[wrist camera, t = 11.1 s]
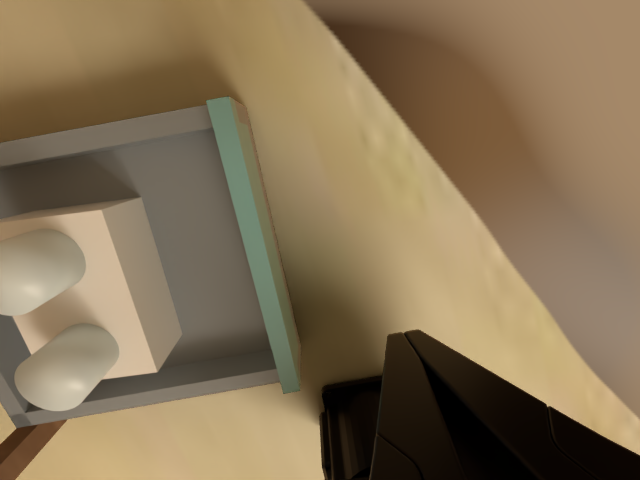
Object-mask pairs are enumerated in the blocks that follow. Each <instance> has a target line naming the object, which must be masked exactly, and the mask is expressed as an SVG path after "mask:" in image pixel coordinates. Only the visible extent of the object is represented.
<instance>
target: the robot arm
mask: <svg viewBox="0 0 640 480" xmlns="http://www.w3.org/2000/svg"><path fill="white" fill-rule="evenodd" d="M327 392H330V393H327ZM322 399H323V403H324V408H325V412H322V413H321V414H320V416H319V417H320V437H321V458H322V469H323V473H324V477H325V480H640V455H638V454H636V453H634V452H632V451H630V450H628V449H626V448H625V447H623V446H621V445H619V444H617V443H615V442H613V441H611V440H609V439H607V438H605V437H603V436H602V435H600V434H598V433H596V432H595V431H593V430H591V429H589V428H587V427H586V426H584V425H582V424H580V423H579V422H577V421H575V420H573V419H571V418H570V417H568V416H566V415H565V414H563V413H561V412H559V411H558V410H556V409H554V408H553V407H551V406H548V407H547V405H546V404H545V403H544V402H542V401H540V400H539V399H537V398H535V397H533V396H532V395H530V394H528V393H527V392H525V391H523V390H522V389H520V388H518V387H516V386H515V385H513V384H511V383H510V382H508V381H506V380H504V379H503V378H501V377H499V376H498V375H496V374H494V373H492V372H491V371H489V370H487V369H486V368H484V367H482V366H481V365H479V364H477V363H475V362H474V361H472V360H470V359H469V358H467V357H465V356H463V355H462V354H460V353H458V352H457V351H455V350H453V349H451V348H450V347H448V346H446V345H445V344H443V343H441V342H440V341H438V340H436V339H434V338H433V337H431V336H429V335H428V334H426V333H424V332H422V331H421V330H411V331H406V332H404V334H403V333H401V332H400V333H394V334H389V335H388V336H387V344H386V352H385V361H384V370H383V376H379V377H373V378H367V379H361V380H356V381H350V382H344V383H339V384H333V385H327V386H324V387H323V388H322Z"/></svg>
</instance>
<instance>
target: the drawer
mask: <svg viewBox="0 0 640 480" xmlns="http://www.w3.org/2000/svg"><path fill="white" fill-rule="evenodd" d="M206 103H207V105H201V106H196V107H191V108H185V109H180V110H174V111H169V112H164V113H158V114H153V115H147V116H142V117H137V118H131V119H126V120H120V121H115V122H110V123H104V124H99V125H93V126H88V127H83V128H77V129H72V130H66V131H61V132H56V133H50V134H45V135H39V136H34V137H29V138H23V139H18V140H12V141H7V142H2V143H0V219H3V218H7V217H11V216H15V215H20V214H24V213H28V212H32V211H37V210H45V209H53V208H60V207H68V206H76V205H84V204H91V203H99V202H107V201H115V200H123V199H130V198H138V197H141V198H142V201H143V204H144V208H145V211H146V214H147V218H148V221H149V224H150V228H151V231H152V234H153V238H154V241H155V244H156V248H157V251H158V254H159V258H160V261H161V264H162V268H163V271H164V274H165V278H166V281H167V284H168V288H169V291H170V294H171V298H172V301H173V304H174V308H175V311H176V314H177V318H178V321H179V324H180V328H181V331H182V335H181V337H180V339H179V340H178V342H177V343H176V345H175V346H174V348H173V349H172V351H171V352H170V354H169V355H168V357H167V358H166V360H165V362H164V363H163V365H162V366H161V368H160V369H159V371H158V372H156V373H148V374H141V375H133V376H125V377H118V378H110V379H103V380H101V381H100V382H99V383H98V384H97V385H96V386H95V388H94V389H93V390H92V391H91V392H90V393H89V394H88V396H87V397H86V398H85V399H84V400H83V401H82V403H80V404H79V405H78V406H76V407H75V408H73V409H70V410H65V411H50V410H45V409H42V408H40V407H37V406H35V405H33V404H32V403H30V402H29V401H27V400H26V399H25V398H24V397H23V396H22V395H21V394H20V393H19V391H18V389H17V387H16V385H15V380H14V376H15V371H16V369H17V367H18V366H19V365H20V364H21V363H22V362H23V361H24V360H26V359H27V358H28V357H30V356H31V353H30V351H29V349H28V347H27V345H26V343H25V341H24V339H23V337H22V335H21V333H20V331H19V329H18V327H17V324H16V322H15V320H14V318H13V316H7V315H1V314H0V402H1V404H2V406H3V407H4V409H5V410H6V412H7V414H8V415H9V417H10V418H11V420H12V422H13V423H14V425H15V426H16V428H20V427H26V426H31V425H37V424H43V423H49V422H54V421H60V420H66V419H71V418H77V417H83V416H89V415H94V414H100V413H106V412H111V411H117V410H123V409H129V408H134V407H140V406H146V405H151V404H157V403H163V402H169V401H174V400H180V399H186V398H191V397H197V396H203V395H209V394H214V393H220V392H226V391H231V390H237V389H243V388H249V387H254V386H260V385H266V384H272V383H277V382H280V383H281V387H282V390H283V394H285V393H291V392H297V391H300V378H301V344H300V340H299V336H298V331H297V327H296V323H295V318H294V314H293V309H292V305H291V301H290V296H289V292H288V288H287V283H286V279H285V274H284V270H283V266H282V261H281V257H280V253H279V248H278V244H277V239H276V235H275V231H274V226H273V222H272V218H271V213H270V209H269V204H268V200H267V196H266V191H265V187H264V183H263V178H262V174H261V169H260V165H259V161H258V156H257V152H256V148H255V143H254V139H253V134H252V130H251V126H250V121H249V117H248V113H247V108H246V107H245V106H244V105H242V104H241V103H239V102H237V101H236V100H234V99H233V98H231V97H229V96H227V97H222V98H216V99H211V100H206Z"/></svg>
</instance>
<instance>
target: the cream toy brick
mask: <svg viewBox="0 0 640 480" xmlns="http://www.w3.org/2000/svg"><path fill="white" fill-rule="evenodd" d="M0 314H1V315H7V316H13V318H14V320H15V322H16V324H17V327H18V329H19V331H20V333H21V335H22V337H23V339H24V341H25V343H26V345H27V347H28V349H29V351H30V353H31V356H30V357H28V358H27V359H26V360H24V361H23V362H22V363H21V364H20V365H19V366H18V367H17V369H16V371H15V376H14V380H15V385H16V387H17V389H18V391H19V393H20V394H21V395H22V396H23V397H24V398H25V399H26V400H27V401H29V402H30V403H32V404H33V405H35V406H37V407H40V408H42V409H45V410H50V411H65V410H70V409H73V408H75V407H76V406H78V405H79V404H80V403H82V401H83V400H84V399H85V398H86V397H87V396H88V394H89V393H90V392H91V391H92V390H93V389H94V388H95V386H96V385H97V384H98V383H99V382H100V381H101V380H103V379H110V378H118V377H125V376H133V375H141V374H148V373H156V372H158V371H159V369H160V368H161V366H162V365H163V363H164V362H165V360H166V358H167V357H168V355H169V354H170V352H171V351H172V349H173V348H174V346H175V345H176V343H177V342H178V340H179V339H180V337H181V335H182V331H181V328H180V324H179V321H178V318H177V314H176V311H175V308H174V304H173V301H172V298H171V294H170V291H169V288H168V284H167V281H166V278H165V274H164V271H163V268H162V264H161V261H160V258H159V254H158V251H157V248H156V244H155V241H154V238H153V234H152V231H151V228H150V224H149V221H148V218H147V214H146V211H145V208H144V204H143V201H142V198H141V197H138V198H130V199H123V200H115V201H107V202H99V203H91V204H84V205H76V206H68V207H60V208H53V209H45V210H37V211H32V212H28V213H24V214H20V215H15V216H11V217H7V218H3V219H0Z"/></svg>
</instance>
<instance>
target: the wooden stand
mask: <svg viewBox="0 0 640 480" xmlns="http://www.w3.org/2000/svg"><path fill="white" fill-rule="evenodd" d="M66 421H67V419H66V420H60V421H54V422H49V423H43V424H37V425H31V426H26V427H20V428H17V429H16V430H15V431H14V432H13V433H12V434H11V435H10V436H9V437H8V438H7V439H6V440H5V441H3V442H2V443H1V444H0V480H15V479H16V478H17V477H18V476H19V475H20V473H21V472H22V471H23V470H24V469H25V468H26V467H27V465H28V464H29V463H30V462H31V461H32V460H33V459H34V457H35V456H36V455H37V454H38V453H39V452H40V450H41V449H42V448H43V447H44V446H45V445H46V444H47V442H48V441H49V440H50V439H51V438H52V437H53V435H54V434H55V433H56V432H57V431H58V430H59V429H60V427H61V426H62V425H63V424H64V423H65V422H66Z"/></svg>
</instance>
